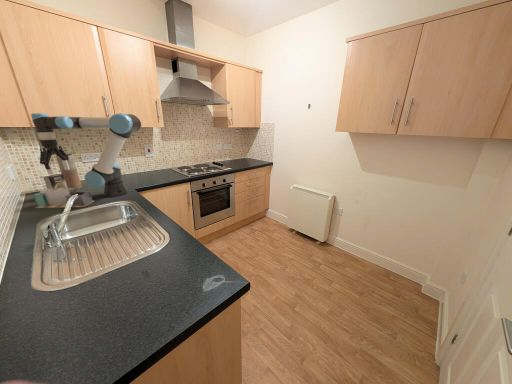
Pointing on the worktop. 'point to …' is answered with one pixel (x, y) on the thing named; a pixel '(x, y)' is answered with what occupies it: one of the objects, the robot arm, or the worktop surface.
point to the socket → (39, 200)
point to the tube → (57, 195)
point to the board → (61, 206)
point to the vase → (70, 172)
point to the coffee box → (55, 181)
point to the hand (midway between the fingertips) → (59, 171)
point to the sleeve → (81, 198)
